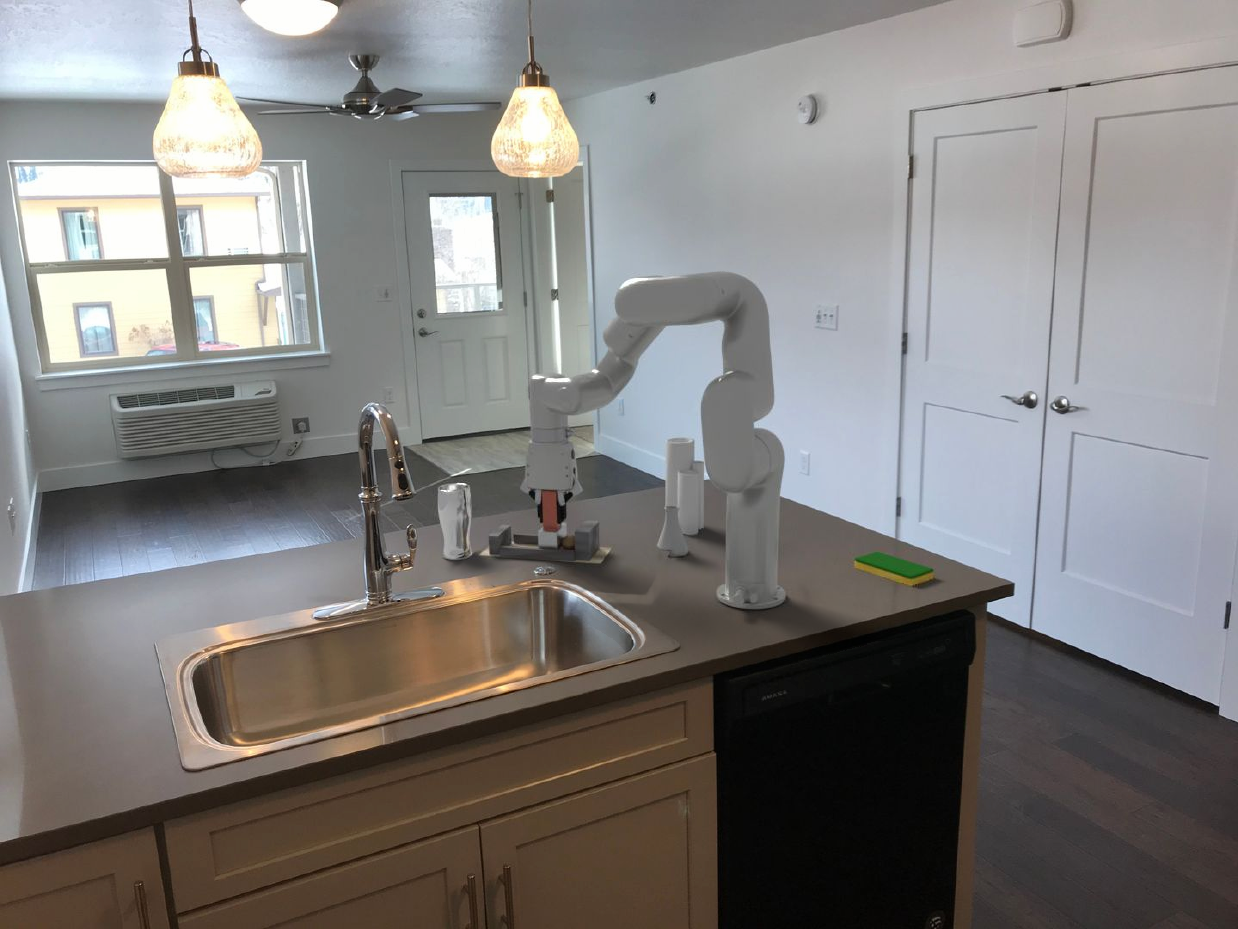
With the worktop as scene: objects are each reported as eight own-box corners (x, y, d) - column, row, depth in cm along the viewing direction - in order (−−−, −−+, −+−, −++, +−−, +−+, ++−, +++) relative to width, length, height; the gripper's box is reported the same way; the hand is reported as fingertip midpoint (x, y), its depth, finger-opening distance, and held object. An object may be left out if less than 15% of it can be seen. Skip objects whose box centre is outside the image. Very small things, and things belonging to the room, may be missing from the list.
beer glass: (464, 562, 199) (461, 492, 196) (434, 559, 202) (430, 490, 198) (479, 552, 206) (476, 484, 202) (450, 549, 208) (447, 481, 204)
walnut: (576, 556, 198) (576, 538, 197) (560, 555, 198) (559, 537, 197) (581, 550, 201) (581, 533, 200) (565, 549, 202) (564, 532, 201)
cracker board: (600, 570, 194) (599, 534, 192) (479, 562, 199) (477, 527, 198) (612, 554, 203) (611, 520, 201) (496, 547, 209) (494, 513, 207)
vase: (660, 523, 224) (659, 439, 220) (686, 519, 228) (686, 436, 223) (685, 536, 215) (685, 448, 210) (712, 531, 218) (713, 445, 213)
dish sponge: (876, 562, 198) (877, 550, 197) (933, 580, 187) (934, 568, 186) (853, 569, 193) (853, 557, 193) (910, 588, 183) (911, 576, 182)
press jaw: (557, 556, 197) (555, 494, 194) (538, 554, 198) (536, 493, 195) (567, 545, 203) (565, 485, 200) (549, 544, 204) (547, 485, 201)
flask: (689, 558, 200) (690, 511, 198) (655, 558, 201) (654, 512, 198) (688, 546, 207) (688, 502, 205) (654, 547, 208) (654, 502, 205)
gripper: (593, 432, 196) (595, 518, 201) (517, 429, 200) (520, 514, 204) (583, 440, 189) (585, 529, 194) (504, 437, 193) (508, 524, 197)
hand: (552, 521), depth 199 cm, fingers closed on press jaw, 3 cm apart
